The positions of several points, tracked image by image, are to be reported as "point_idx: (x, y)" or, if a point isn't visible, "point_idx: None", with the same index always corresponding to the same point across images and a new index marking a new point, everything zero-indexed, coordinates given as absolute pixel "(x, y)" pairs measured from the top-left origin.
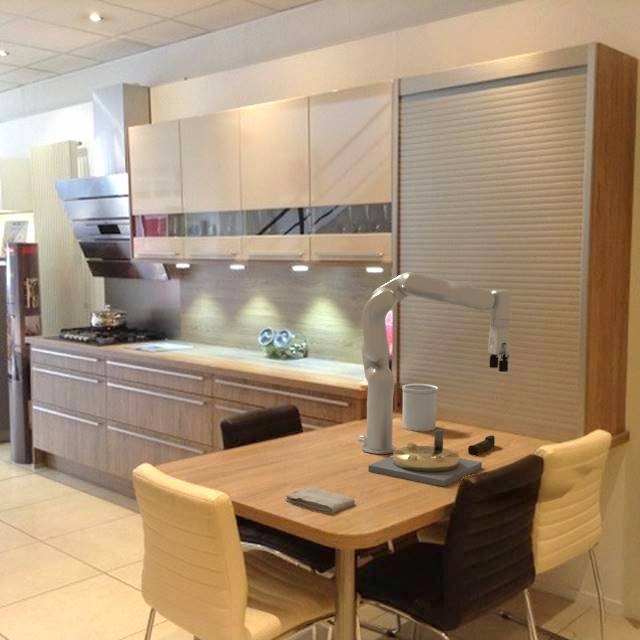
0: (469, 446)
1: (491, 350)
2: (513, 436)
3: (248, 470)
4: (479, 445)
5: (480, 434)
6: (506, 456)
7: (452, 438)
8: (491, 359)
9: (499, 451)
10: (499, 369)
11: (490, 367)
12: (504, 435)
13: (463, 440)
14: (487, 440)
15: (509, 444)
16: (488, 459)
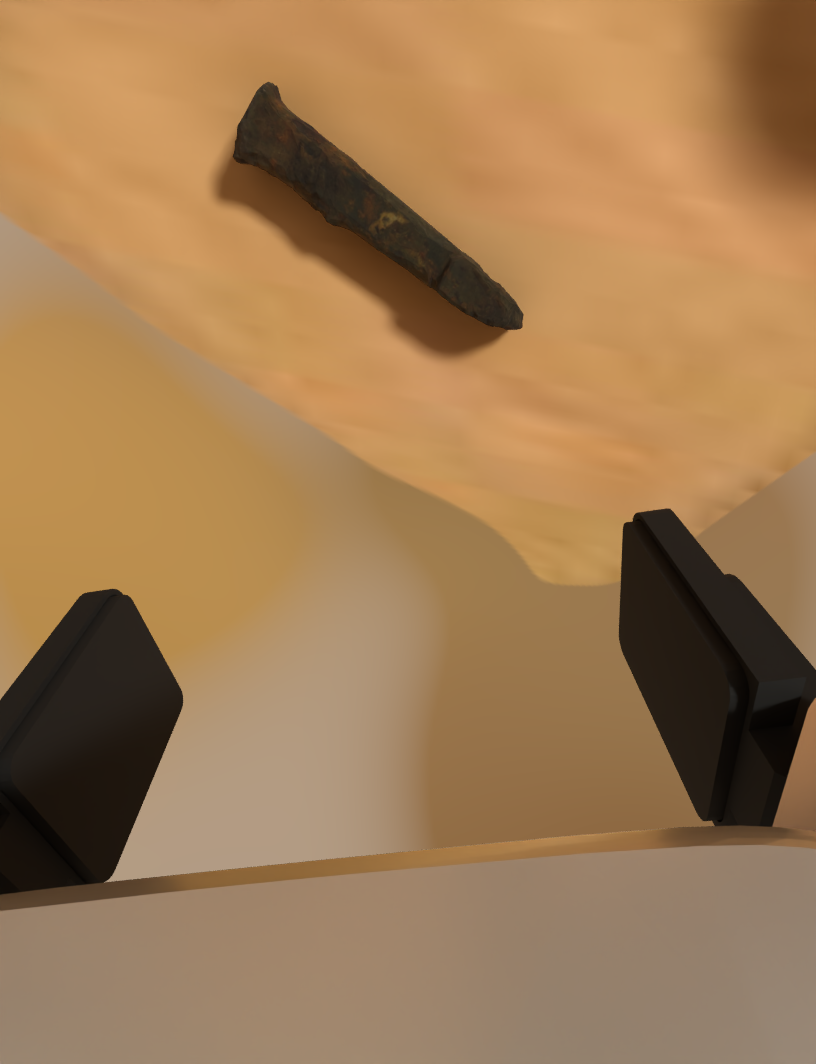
0: (259, 89)
1: (293, 1027)
2: (713, 468)
3: None
4: (291, 179)
5: (804, 285)
6: (275, 344)
7: (737, 29)
8: (702, 658)
9: (380, 326)
10: (71, 615)
11: (633, 518)
12: (745, 426)
13: (663, 121)
14: (423, 265)
15: (540, 413)
16: (179, 219)
